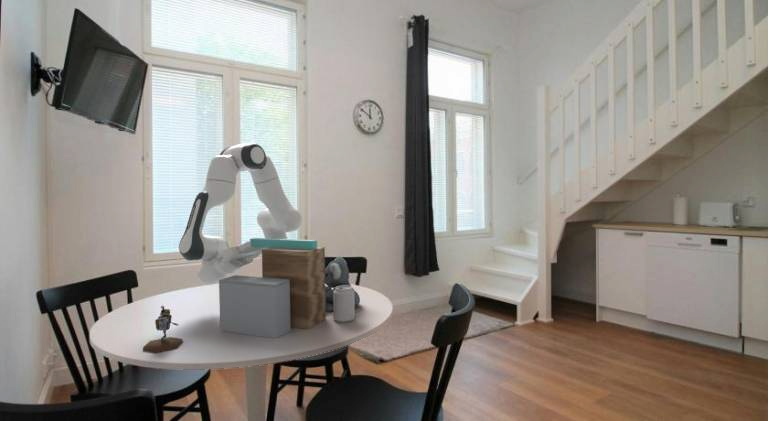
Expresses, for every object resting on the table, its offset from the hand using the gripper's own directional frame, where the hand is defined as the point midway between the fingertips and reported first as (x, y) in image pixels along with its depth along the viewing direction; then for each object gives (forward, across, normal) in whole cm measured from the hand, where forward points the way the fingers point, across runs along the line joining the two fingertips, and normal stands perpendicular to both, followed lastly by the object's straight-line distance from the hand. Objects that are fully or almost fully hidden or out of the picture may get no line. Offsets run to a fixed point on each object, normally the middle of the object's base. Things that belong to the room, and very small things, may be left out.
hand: (258, 241), depth 151 cm
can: (+12, +7, +40) cm, 42 cm away
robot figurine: (-22, -34, +20) cm, 45 cm away
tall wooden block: (-1, 0, +32) cm, 32 cm away
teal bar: (+8, 0, +7) cm, 10 cm away
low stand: (-7, -13, +28) cm, 32 cm away
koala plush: (+4, +22, +35) cm, 41 cm away
